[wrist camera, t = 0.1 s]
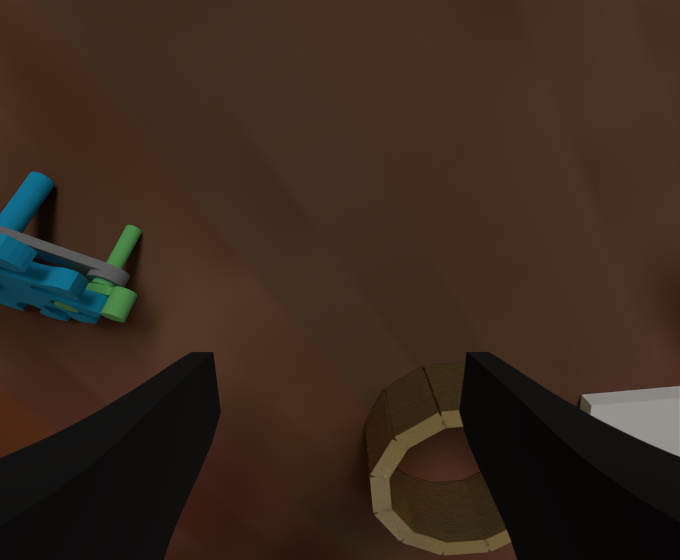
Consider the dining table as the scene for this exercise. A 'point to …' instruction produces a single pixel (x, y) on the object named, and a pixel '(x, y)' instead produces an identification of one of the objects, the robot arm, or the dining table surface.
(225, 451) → the dining table surface
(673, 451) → the piston stand
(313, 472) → the dining table surface
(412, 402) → the brass ring
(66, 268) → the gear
